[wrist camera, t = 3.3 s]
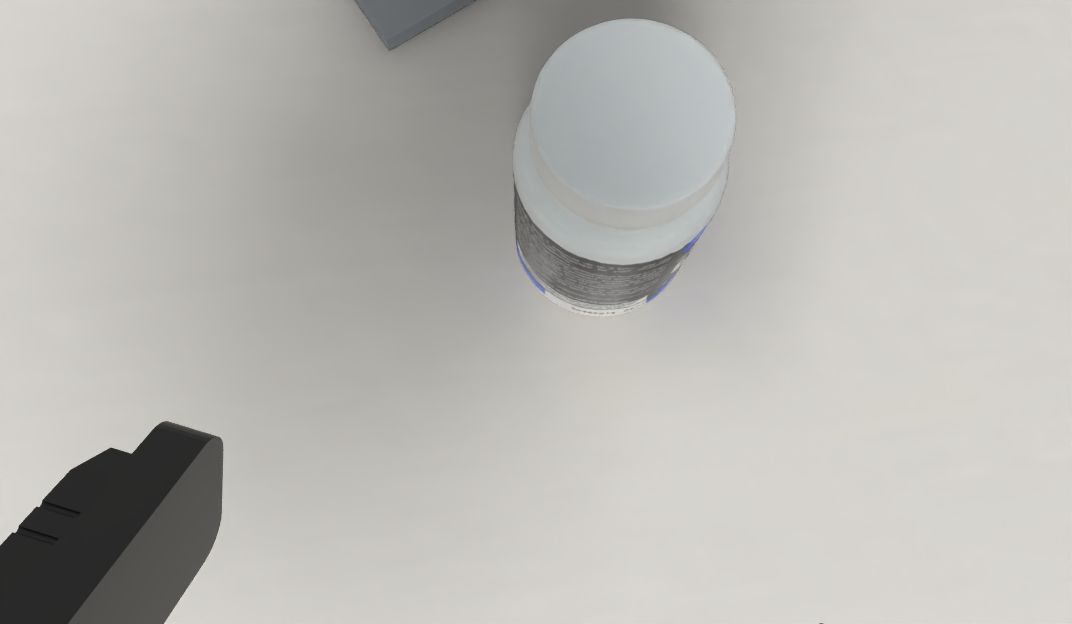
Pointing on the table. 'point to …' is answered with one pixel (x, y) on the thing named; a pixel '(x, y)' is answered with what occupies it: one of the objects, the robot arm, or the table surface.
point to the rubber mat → (406, 17)
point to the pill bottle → (619, 164)
